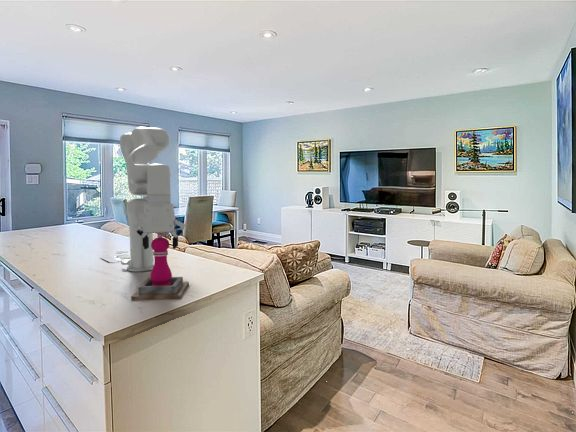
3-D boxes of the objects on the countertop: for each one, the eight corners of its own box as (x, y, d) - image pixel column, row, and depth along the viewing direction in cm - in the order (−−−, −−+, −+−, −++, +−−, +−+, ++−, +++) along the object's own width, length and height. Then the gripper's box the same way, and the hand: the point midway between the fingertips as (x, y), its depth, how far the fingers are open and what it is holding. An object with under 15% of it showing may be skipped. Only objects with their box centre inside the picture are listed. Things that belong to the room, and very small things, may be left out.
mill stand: (131, 300, 116) (130, 289, 116) (145, 285, 132) (145, 276, 131) (180, 298, 118) (180, 288, 117) (188, 284, 133) (188, 275, 133)
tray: (167, 257, 184) (167, 250, 184) (111, 268, 165) (110, 260, 164) (151, 251, 199) (151, 245, 198) (98, 260, 180) (97, 253, 179)
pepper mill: (165, 292, 121) (163, 235, 119) (146, 290, 122) (144, 234, 120) (176, 286, 128) (174, 232, 126) (158, 284, 129) (156, 231, 127)
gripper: (129, 200, 117) (131, 250, 118) (182, 200, 119) (183, 250, 120) (136, 199, 124) (138, 246, 126) (186, 199, 126) (187, 246, 128)
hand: (160, 248), depth 123 cm, fingers open, 9 cm apart
